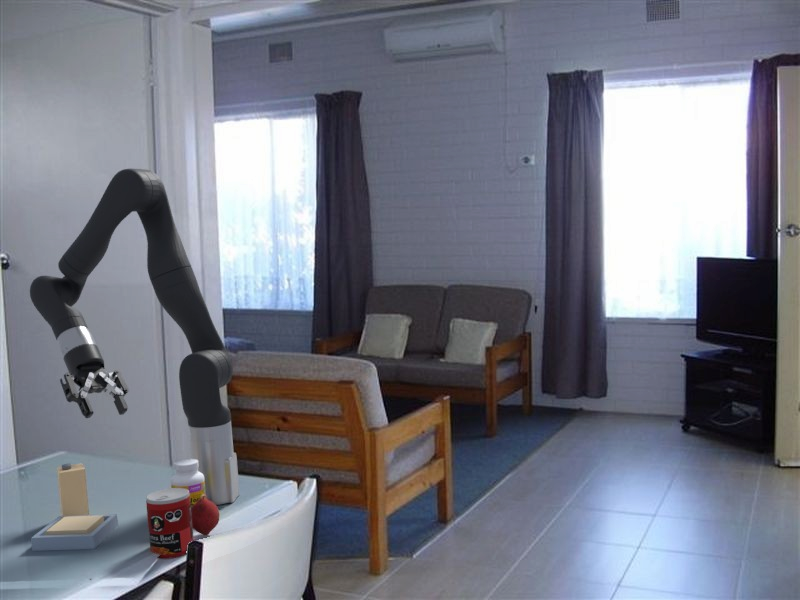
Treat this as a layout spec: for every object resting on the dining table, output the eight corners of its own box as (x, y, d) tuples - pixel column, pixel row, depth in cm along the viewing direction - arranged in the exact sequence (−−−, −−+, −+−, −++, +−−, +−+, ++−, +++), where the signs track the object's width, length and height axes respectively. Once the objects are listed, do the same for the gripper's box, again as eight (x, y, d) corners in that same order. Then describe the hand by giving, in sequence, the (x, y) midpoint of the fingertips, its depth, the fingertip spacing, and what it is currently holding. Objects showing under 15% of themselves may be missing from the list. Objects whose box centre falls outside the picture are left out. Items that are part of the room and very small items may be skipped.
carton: (87, 518, 189) (81, 459, 188) (90, 525, 185) (84, 464, 183) (62, 523, 187) (56, 463, 186) (64, 530, 182) (58, 469, 181)
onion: (213, 540, 171) (210, 500, 170) (185, 540, 172) (182, 500, 172) (225, 530, 177) (222, 490, 176) (198, 529, 178) (194, 490, 177)
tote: (118, 531, 180) (117, 514, 180) (94, 553, 168) (92, 535, 168) (60, 533, 181) (59, 516, 180) (32, 555, 169) (31, 537, 169)
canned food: (142, 557, 165) (137, 499, 164) (168, 541, 172) (164, 486, 171) (176, 561, 162) (171, 502, 161) (202, 545, 169) (197, 488, 168)
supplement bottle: (191, 531, 177) (185, 468, 176) (167, 526, 181) (162, 464, 180) (214, 520, 183) (209, 459, 182) (191, 516, 187) (186, 456, 185)
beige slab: (104, 530, 178) (103, 515, 178) (88, 545, 170) (86, 529, 170) (65, 531, 179) (64, 516, 178) (47, 546, 171) (45, 531, 170)
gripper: (59, 342, 189) (87, 407, 183) (116, 341, 200) (143, 402, 194) (42, 363, 192) (69, 427, 186) (99, 360, 204) (125, 420, 198)
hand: (107, 414), depth 190 cm, fingers open, 8 cm apart
